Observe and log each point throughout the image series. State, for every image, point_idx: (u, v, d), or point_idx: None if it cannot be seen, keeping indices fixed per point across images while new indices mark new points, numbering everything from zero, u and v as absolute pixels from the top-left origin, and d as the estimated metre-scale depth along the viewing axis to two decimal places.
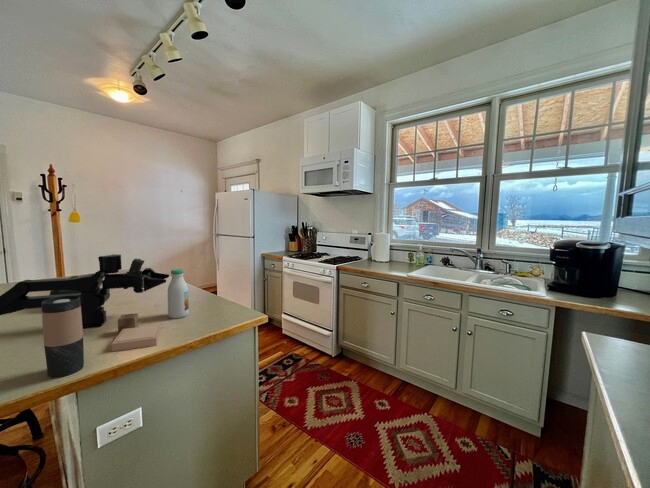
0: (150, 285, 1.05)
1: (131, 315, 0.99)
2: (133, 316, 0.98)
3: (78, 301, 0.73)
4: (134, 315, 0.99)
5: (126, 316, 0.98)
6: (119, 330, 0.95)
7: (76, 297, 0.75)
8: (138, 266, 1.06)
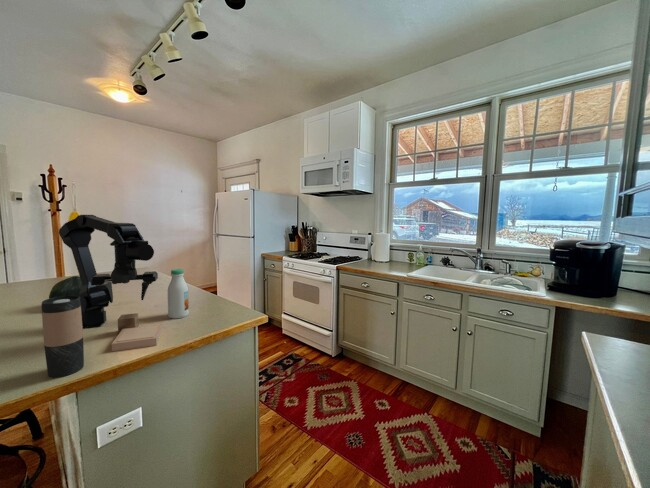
0: None
1: (131, 315, 0.99)
2: (133, 316, 0.98)
3: (78, 301, 0.73)
4: (134, 315, 0.99)
5: (126, 316, 0.98)
6: (119, 330, 0.95)
7: (76, 297, 0.75)
8: None
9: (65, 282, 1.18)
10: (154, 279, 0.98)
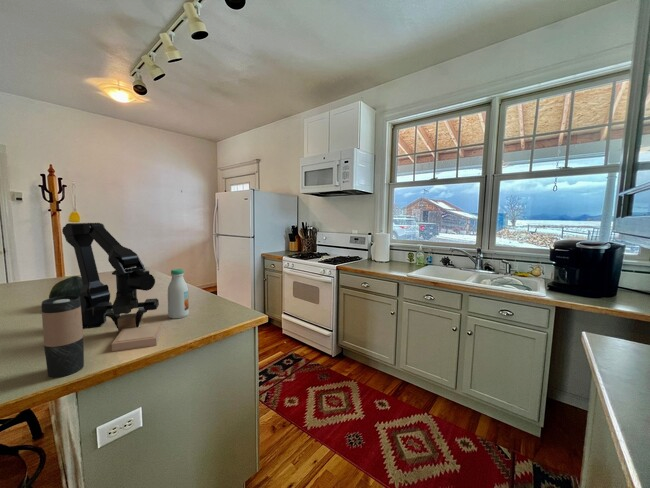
0: None
1: (131, 315, 0.99)
2: (133, 316, 0.98)
3: (78, 301, 0.73)
4: (134, 315, 0.99)
5: (126, 316, 0.98)
6: (119, 330, 0.95)
7: (76, 297, 0.75)
8: None
9: (65, 282, 1.18)
10: (155, 307, 0.99)
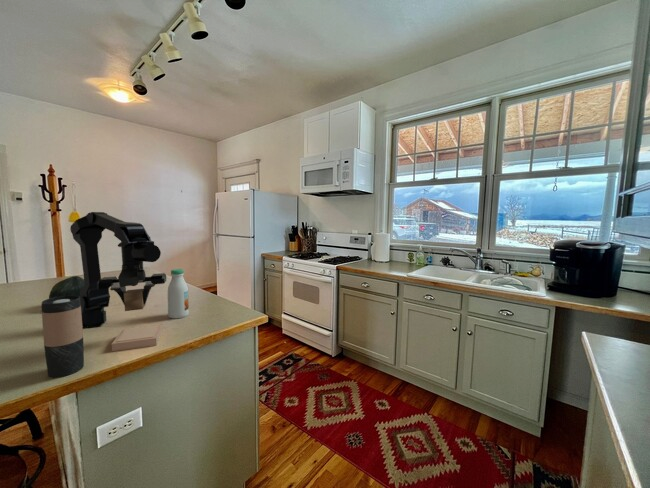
0: None
1: (138, 290, 0.94)
2: (140, 291, 0.93)
3: (78, 301, 0.73)
4: (141, 290, 0.94)
5: (133, 291, 0.93)
6: (125, 305, 0.90)
7: (76, 297, 0.75)
8: None
9: (65, 282, 1.18)
10: (163, 281, 0.94)
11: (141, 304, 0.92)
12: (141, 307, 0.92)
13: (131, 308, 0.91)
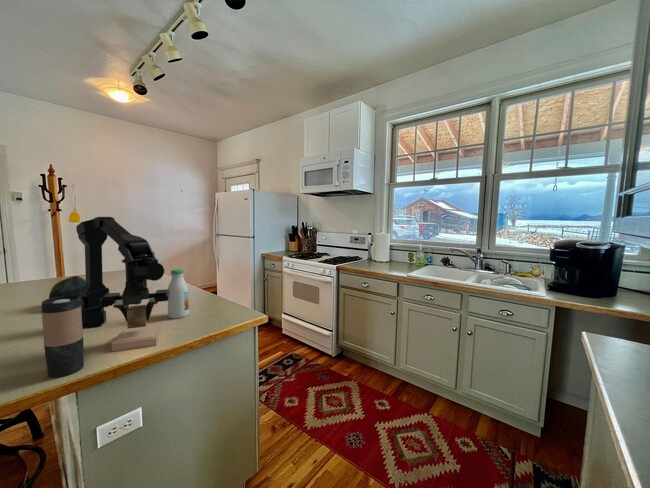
0: None
1: (141, 306, 0.92)
2: (143, 307, 0.91)
3: (78, 301, 0.73)
4: (144, 306, 0.92)
5: (136, 307, 0.91)
6: (128, 322, 0.89)
7: (76, 297, 0.75)
8: None
9: (65, 282, 1.18)
10: (167, 298, 0.92)
11: (144, 321, 0.90)
12: (144, 324, 0.90)
13: (134, 325, 0.89)
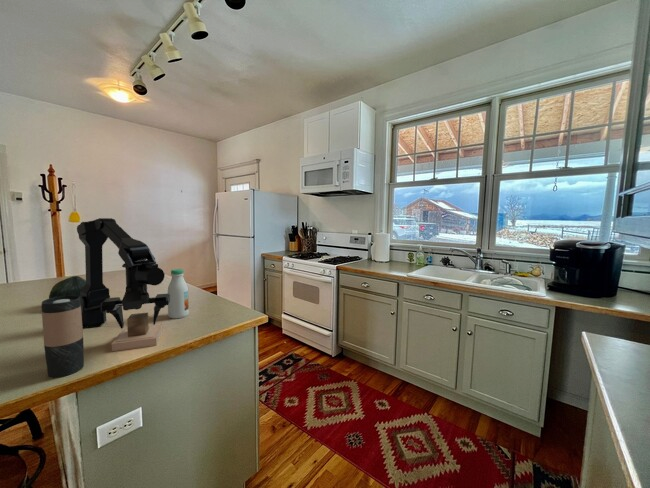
0: None
1: (142, 314, 0.92)
2: (143, 316, 0.91)
3: (78, 301, 0.73)
4: (144, 314, 0.92)
5: (136, 315, 0.91)
6: (129, 331, 0.89)
7: (76, 297, 0.75)
8: None
9: (65, 282, 1.18)
10: (167, 303, 0.92)
11: (144, 330, 0.91)
12: (144, 333, 0.91)
13: (134, 334, 0.89)
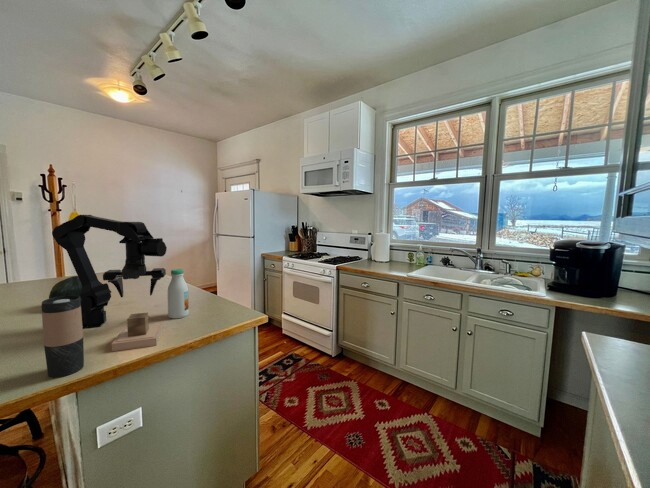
0: None
1: (142, 314, 0.92)
2: (143, 316, 0.91)
3: (78, 301, 0.73)
4: (144, 314, 0.92)
5: (136, 315, 0.91)
6: (129, 331, 0.89)
7: (76, 297, 0.75)
8: None
9: (65, 282, 1.18)
10: (162, 275, 1.03)
11: (144, 330, 0.91)
12: (144, 333, 0.91)
13: (134, 334, 0.89)
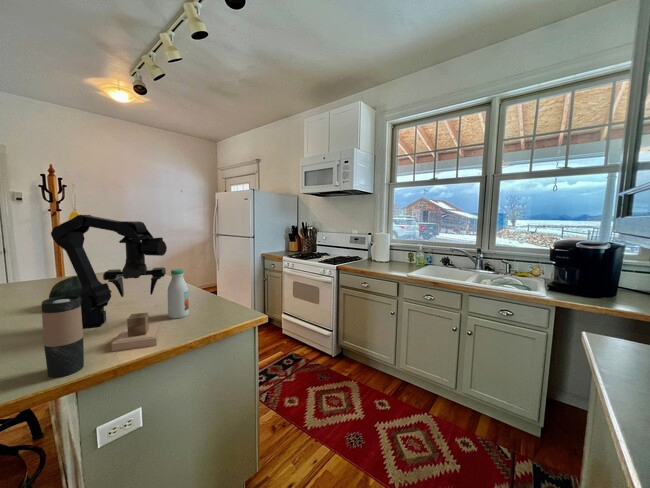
0: None
1: (142, 314, 0.92)
2: (143, 316, 0.91)
3: (78, 301, 0.73)
4: (144, 314, 0.92)
5: (136, 315, 0.91)
6: (129, 331, 0.89)
7: (76, 297, 0.75)
8: None
9: (65, 282, 1.18)
10: (163, 274, 1.03)
11: (144, 330, 0.91)
12: (144, 333, 0.91)
13: (134, 334, 0.89)
